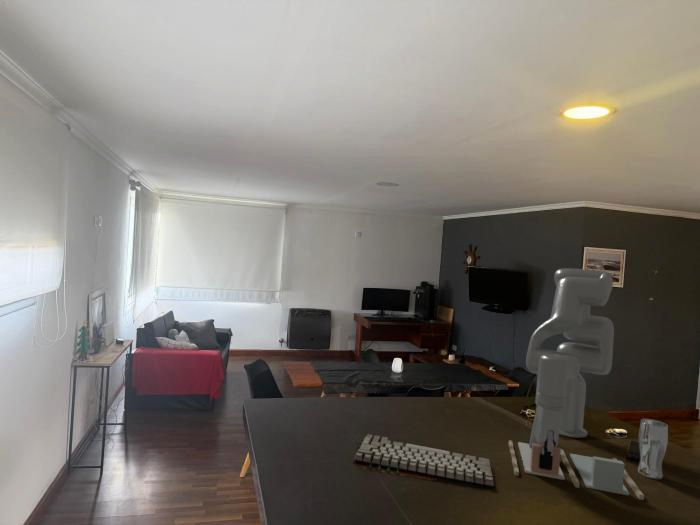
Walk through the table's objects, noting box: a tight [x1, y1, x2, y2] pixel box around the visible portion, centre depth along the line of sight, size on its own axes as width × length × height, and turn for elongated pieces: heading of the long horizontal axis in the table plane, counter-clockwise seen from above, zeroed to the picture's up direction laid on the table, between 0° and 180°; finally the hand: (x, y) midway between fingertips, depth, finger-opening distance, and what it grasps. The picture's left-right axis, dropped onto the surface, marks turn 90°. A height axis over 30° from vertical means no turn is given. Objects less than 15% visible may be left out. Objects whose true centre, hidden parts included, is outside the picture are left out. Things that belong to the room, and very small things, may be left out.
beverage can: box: [528, 405, 539, 450], centre depth 142 cm, size 5×5×15 cm
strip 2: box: [569, 453, 630, 496], centre depth 131 cm, size 22×10×8 cm, turn 165°
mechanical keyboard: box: [352, 433, 495, 490], centre depth 129 cm, size 38×19×3 cm, turn 78°
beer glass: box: [637, 418, 669, 480], centre depth 134 cm, size 7×7×15 cm
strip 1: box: [517, 441, 566, 481], centre depth 137 cm, size 22×10×8 cm, turn 165°
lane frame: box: [508, 439, 645, 501], centre depth 133 cm, size 24×31×1 cm
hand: (544, 466), depth 128 cm, fingers closed on strip 1, 2 cm apart
